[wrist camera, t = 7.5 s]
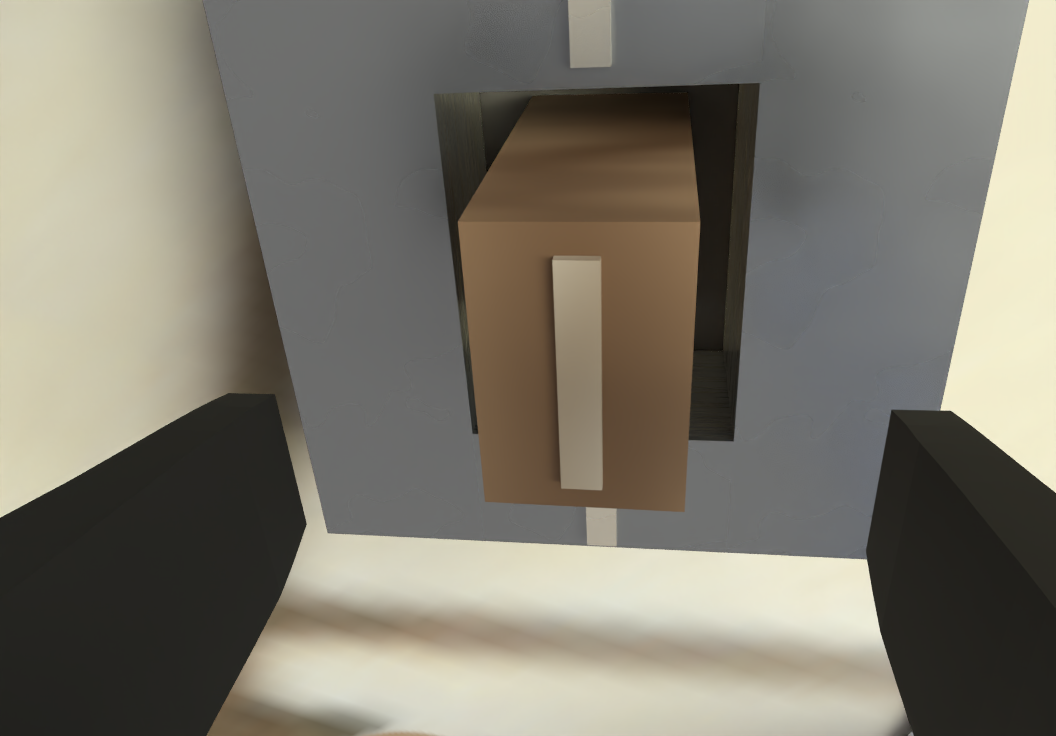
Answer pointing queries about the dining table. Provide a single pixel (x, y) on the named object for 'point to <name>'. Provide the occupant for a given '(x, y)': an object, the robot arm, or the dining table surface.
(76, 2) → the dining table surface
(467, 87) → the block with rectangular hole
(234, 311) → the dining table surface
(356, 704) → the dining table surface
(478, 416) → the peg
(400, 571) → the dining table surface
